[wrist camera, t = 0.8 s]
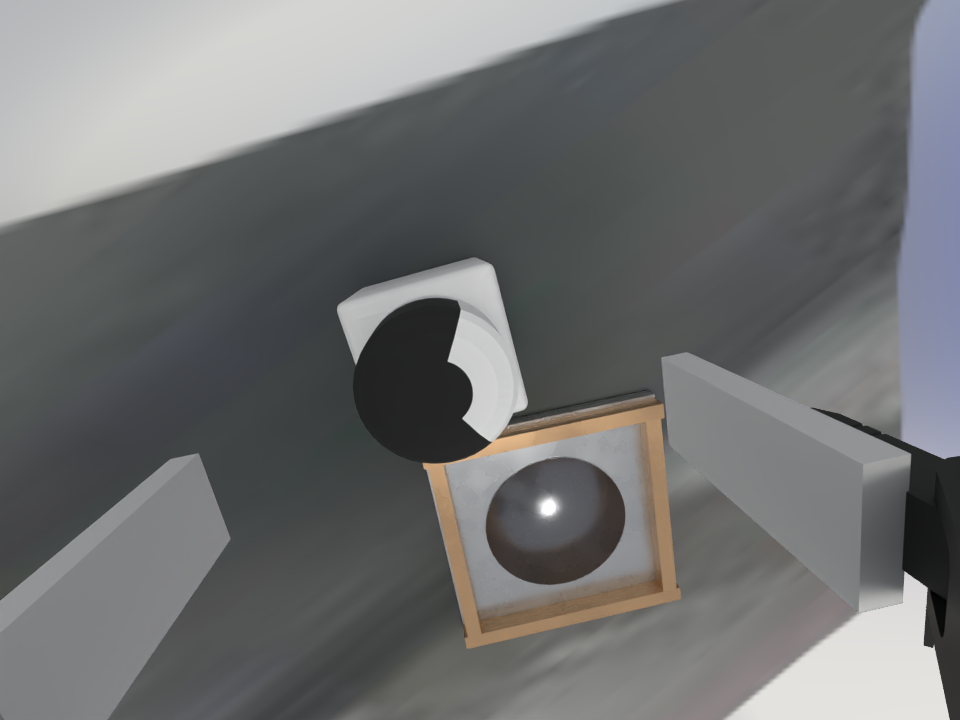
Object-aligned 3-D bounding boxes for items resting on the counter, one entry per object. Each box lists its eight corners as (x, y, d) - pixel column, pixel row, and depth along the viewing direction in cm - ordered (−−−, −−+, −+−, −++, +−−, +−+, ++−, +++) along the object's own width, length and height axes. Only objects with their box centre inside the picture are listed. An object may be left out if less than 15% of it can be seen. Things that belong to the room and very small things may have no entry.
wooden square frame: (465, 627, 36) (467, 651, 34) (420, 437, 32) (419, 452, 30) (666, 581, 37) (681, 601, 35) (648, 389, 33) (662, 400, 31)
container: (395, 402, 32) (371, 509, 19) (357, 288, 30) (302, 325, 17) (507, 370, 32) (556, 455, 19) (478, 255, 30) (511, 267, 17)
